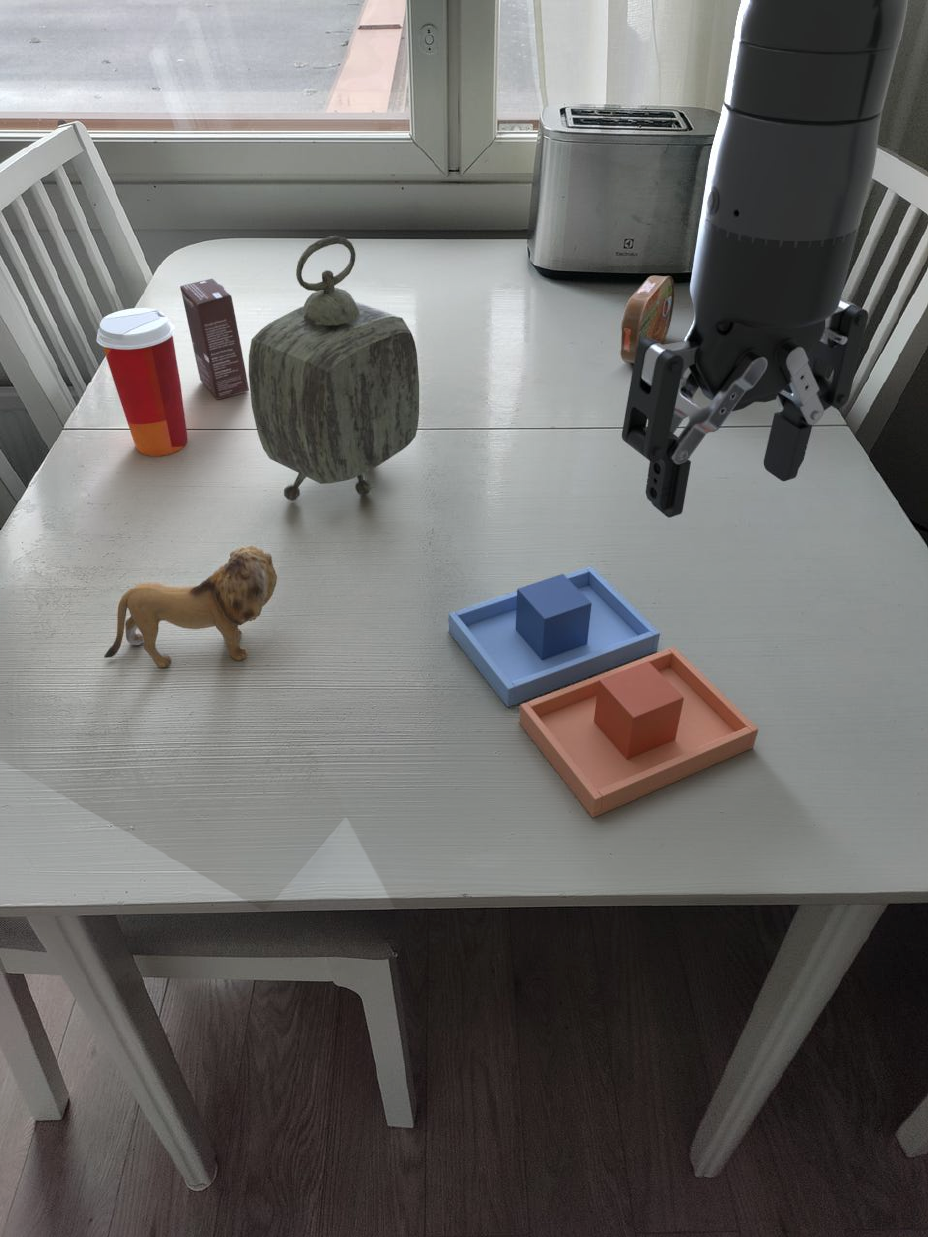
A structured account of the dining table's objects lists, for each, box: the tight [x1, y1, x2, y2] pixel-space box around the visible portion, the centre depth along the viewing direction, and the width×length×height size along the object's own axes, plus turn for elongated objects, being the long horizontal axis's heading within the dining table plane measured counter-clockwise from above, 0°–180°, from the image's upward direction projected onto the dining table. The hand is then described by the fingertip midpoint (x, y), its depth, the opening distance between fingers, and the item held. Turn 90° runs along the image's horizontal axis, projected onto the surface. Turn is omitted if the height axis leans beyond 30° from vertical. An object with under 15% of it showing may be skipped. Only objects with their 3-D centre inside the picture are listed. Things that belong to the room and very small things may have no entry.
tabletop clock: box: [248, 235, 420, 501], centre depth 90 cm, size 14×9×25 cm, turn 141°
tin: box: [619, 275, 675, 364], centre depth 121 cm, size 15×3×8 cm, turn 154°
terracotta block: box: [594, 661, 684, 760], centre depth 70 cm, size 4×4×4 cm
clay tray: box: [518, 646, 759, 819], centre depth 71 cm, size 14×10×2 cm
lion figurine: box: [103, 545, 278, 668], centre depth 77 cm, size 15×5×9 cm, turn 104°
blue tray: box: [448, 566, 661, 708], centre depth 79 cm, size 14×10×2 cm
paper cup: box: [95, 307, 188, 457], centre depth 101 cm, size 8×8×14 cm
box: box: [179, 278, 250, 400], centre depth 112 cm, size 6×4×12 cm
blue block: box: [516, 573, 592, 660], centre depth 78 cm, size 4×4×4 cm
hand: (723, 491), depth 57 cm, fingers open, 8 cm apart
